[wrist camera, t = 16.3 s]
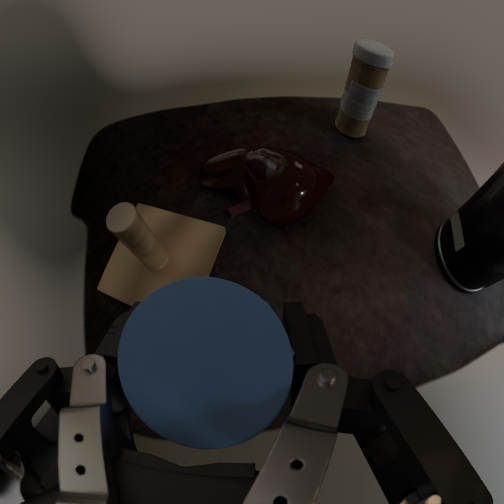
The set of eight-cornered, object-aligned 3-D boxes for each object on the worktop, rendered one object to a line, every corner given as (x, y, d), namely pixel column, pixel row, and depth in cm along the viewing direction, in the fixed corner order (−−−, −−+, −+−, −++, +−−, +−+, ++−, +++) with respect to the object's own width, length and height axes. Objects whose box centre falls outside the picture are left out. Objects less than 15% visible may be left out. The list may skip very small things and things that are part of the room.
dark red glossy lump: (322, 217, 30) (269, 246, 22) (243, 175, 35) (178, 188, 27) (343, 165, 26) (294, 173, 19) (255, 128, 31) (188, 127, 23)
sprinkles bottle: (341, 113, 33) (362, 34, 21) (370, 128, 32) (399, 50, 20) (328, 128, 32) (349, 41, 20) (358, 144, 31) (390, 59, 19)
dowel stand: (226, 232, 26) (213, 173, 18) (188, 330, 23) (150, 312, 14) (142, 208, 28) (107, 153, 19) (102, 292, 24) (46, 260, 16)
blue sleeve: (283, 335, 16) (316, 306, 8) (256, 414, 14) (258, 471, 6) (203, 308, 17) (153, 254, 8) (175, 384, 15) (97, 402, 6)
